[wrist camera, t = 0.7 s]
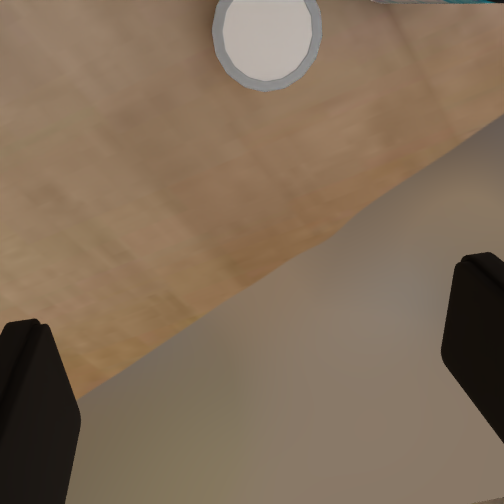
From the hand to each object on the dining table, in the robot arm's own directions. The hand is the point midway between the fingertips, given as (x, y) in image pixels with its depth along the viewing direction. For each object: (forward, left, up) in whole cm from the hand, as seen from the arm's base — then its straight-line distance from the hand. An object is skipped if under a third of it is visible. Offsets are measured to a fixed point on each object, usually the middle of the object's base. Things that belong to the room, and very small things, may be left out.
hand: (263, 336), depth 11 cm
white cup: (-5, +5, -29) cm, 30 cm away
